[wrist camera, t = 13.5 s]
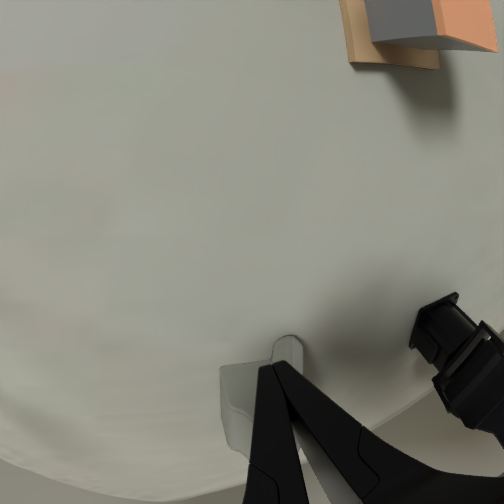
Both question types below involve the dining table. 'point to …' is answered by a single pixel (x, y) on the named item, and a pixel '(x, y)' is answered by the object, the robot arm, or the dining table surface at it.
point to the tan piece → (379, 52)
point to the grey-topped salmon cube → (433, 24)
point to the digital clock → (250, 393)
